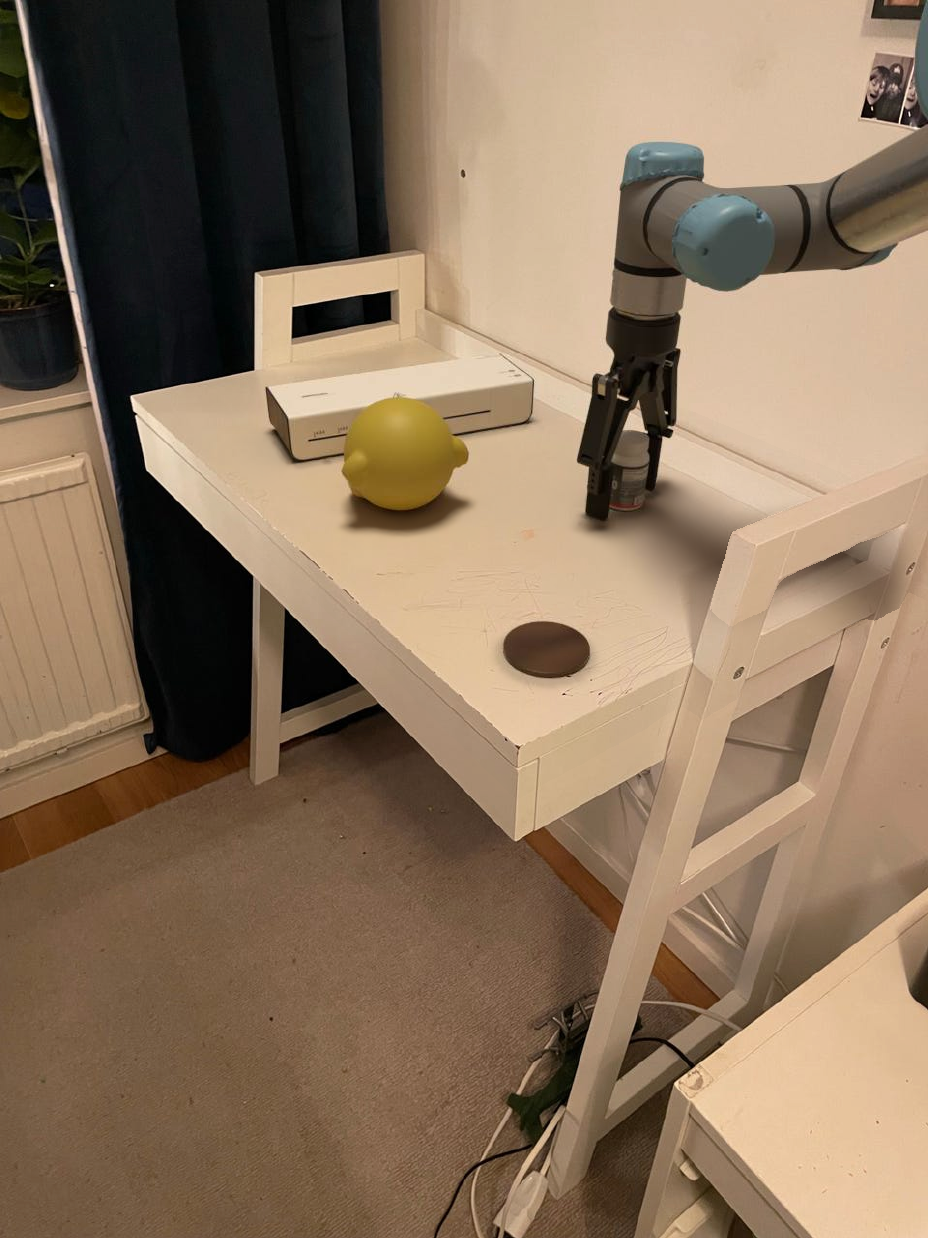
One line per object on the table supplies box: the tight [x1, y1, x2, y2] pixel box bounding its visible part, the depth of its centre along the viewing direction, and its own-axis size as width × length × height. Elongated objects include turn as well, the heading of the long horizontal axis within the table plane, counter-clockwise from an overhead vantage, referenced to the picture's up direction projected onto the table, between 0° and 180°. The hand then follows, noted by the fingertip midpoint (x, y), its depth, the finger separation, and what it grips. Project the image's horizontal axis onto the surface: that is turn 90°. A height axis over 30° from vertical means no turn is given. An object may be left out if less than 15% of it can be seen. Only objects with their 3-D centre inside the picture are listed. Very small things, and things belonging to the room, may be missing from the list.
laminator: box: [264, 352, 535, 462], centre depth 126 cm, size 34×12×6 cm, turn 113°
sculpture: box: [341, 397, 470, 511], centre depth 106 cm, size 15×13×13 cm
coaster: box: [502, 620, 591, 678], centre depth 87 cm, size 8×8×1 cm
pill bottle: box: [609, 429, 649, 512], centre depth 108 cm, size 5×5×8 cm
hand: (620, 500), depth 110 cm, fingers open, 9 cm apart
